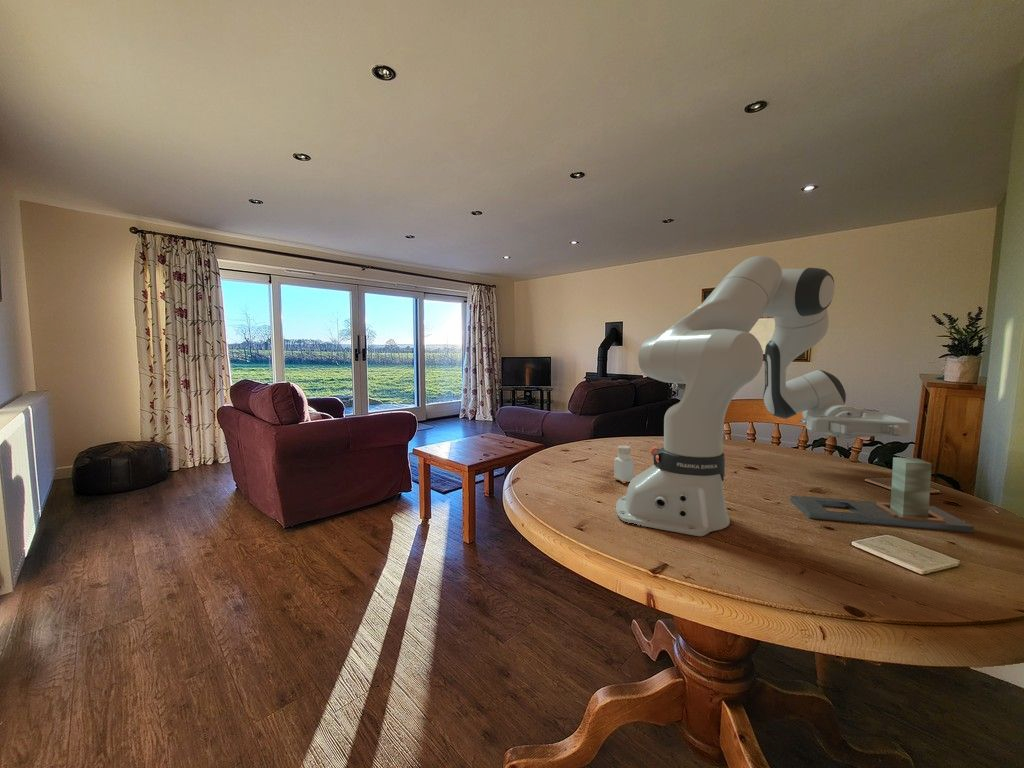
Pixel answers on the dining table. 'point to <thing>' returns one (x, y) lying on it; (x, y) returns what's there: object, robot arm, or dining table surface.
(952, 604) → the dining table surface
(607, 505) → the dining table surface
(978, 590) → the dining table surface
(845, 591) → the dining table surface
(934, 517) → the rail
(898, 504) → the peg
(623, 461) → the white pill bottle
